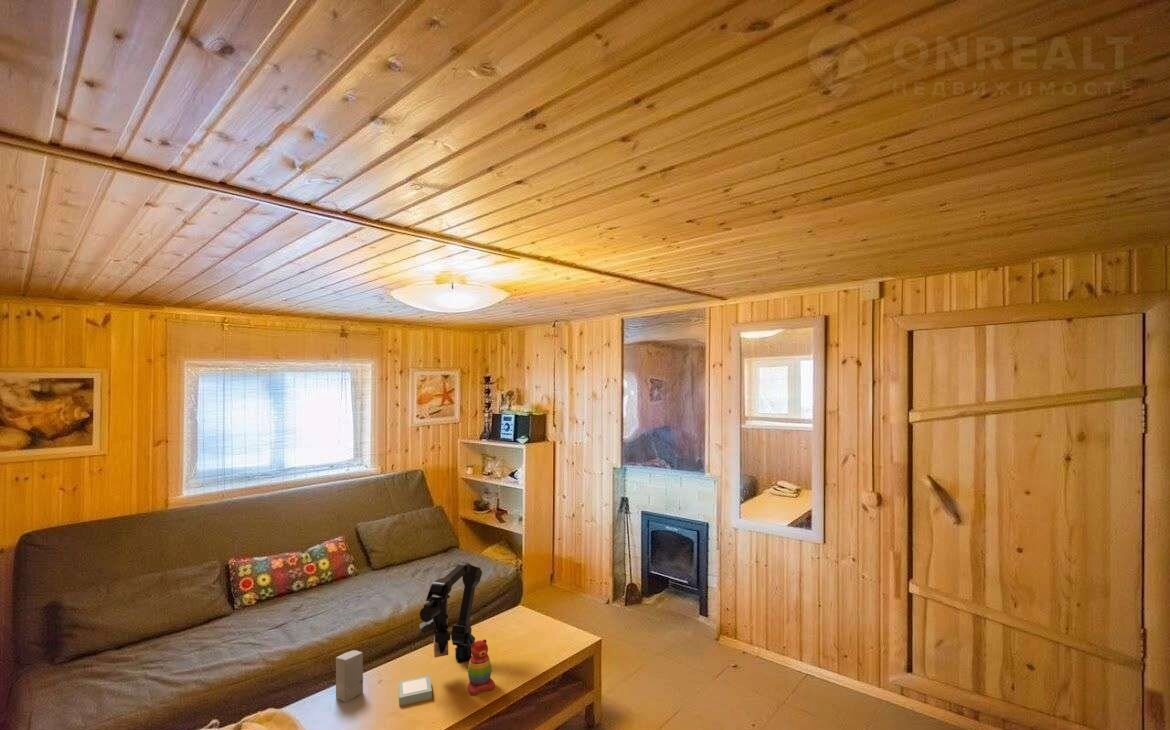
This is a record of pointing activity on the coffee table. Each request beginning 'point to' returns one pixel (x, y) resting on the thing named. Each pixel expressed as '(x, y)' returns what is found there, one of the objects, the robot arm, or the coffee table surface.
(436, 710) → the coffee table surface
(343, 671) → the skincare box
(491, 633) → the coffee table surface
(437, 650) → the walnut cube
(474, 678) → the stacking bear
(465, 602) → the robot arm
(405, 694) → the base slab
